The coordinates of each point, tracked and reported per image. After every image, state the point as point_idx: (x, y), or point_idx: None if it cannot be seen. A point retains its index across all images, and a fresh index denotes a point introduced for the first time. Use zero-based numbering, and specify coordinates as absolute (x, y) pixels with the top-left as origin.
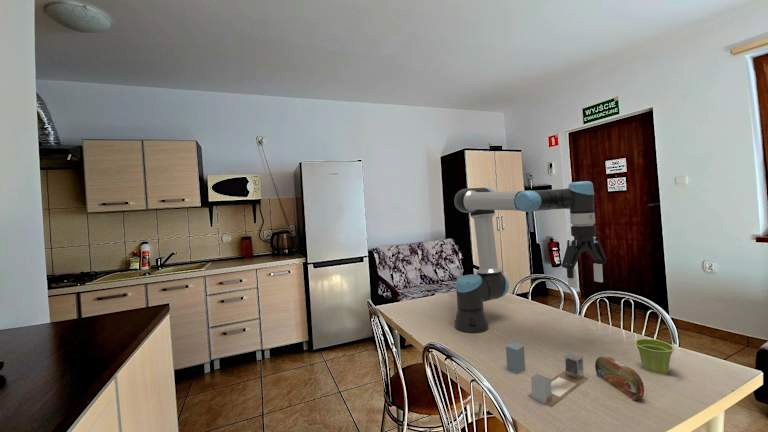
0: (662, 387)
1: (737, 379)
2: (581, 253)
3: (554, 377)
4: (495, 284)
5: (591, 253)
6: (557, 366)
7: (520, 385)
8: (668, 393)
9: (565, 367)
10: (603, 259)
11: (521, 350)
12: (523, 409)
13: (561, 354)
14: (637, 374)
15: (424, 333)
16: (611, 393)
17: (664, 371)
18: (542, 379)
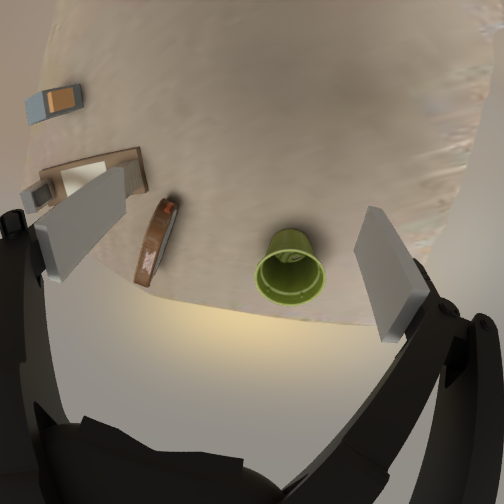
0: (235, 267)
1: (348, 318)
2: (64, 415)
3: (98, 156)
4: None
5: (354, 419)
6: (152, 118)
7: (54, 135)
8: (222, 276)
9: (113, 166)
10: (443, 366)
11: (43, 119)
12: (30, 181)
13: (215, 84)
14: (146, 286)
15: None
16: None
17: (279, 266)
18: (27, 206)
